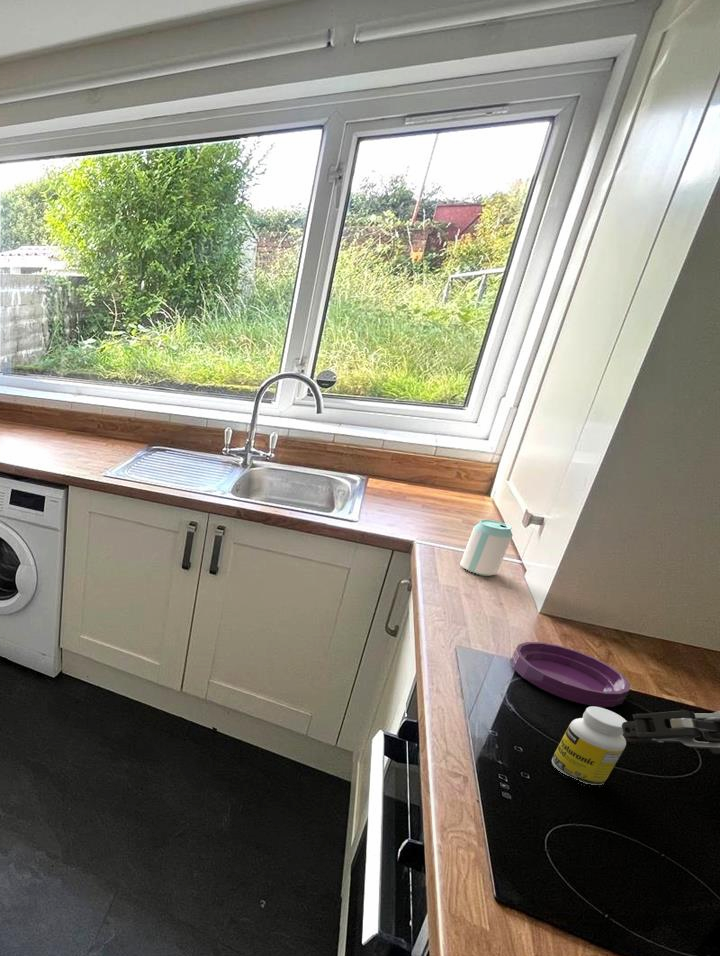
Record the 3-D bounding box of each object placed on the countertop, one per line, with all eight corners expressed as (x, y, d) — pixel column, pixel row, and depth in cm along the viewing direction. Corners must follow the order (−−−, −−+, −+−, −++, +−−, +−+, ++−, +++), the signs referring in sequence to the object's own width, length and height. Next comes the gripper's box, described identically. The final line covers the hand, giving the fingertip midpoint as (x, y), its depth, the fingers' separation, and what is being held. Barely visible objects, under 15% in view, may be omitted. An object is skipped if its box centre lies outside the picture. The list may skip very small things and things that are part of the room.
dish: (640, 698, 95) (649, 682, 94) (589, 718, 90) (598, 702, 89) (540, 650, 107) (547, 635, 106) (490, 665, 102) (497, 650, 101)
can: (469, 562, 142) (486, 516, 138) (502, 574, 136) (521, 527, 132) (453, 567, 139) (470, 520, 135) (486, 579, 133) (505, 532, 129)
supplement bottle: (539, 759, 82) (568, 703, 78) (573, 756, 82) (603, 701, 78) (579, 790, 77) (611, 731, 73) (614, 787, 77) (649, 729, 73)
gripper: (915, 698, 53) (730, 714, 68) (732, 676, 55) (591, 696, 70) (953, 787, 50) (751, 783, 65) (758, 760, 53) (606, 762, 67)
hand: (668, 738), depth 68 cm, fingers open, 8 cm apart
